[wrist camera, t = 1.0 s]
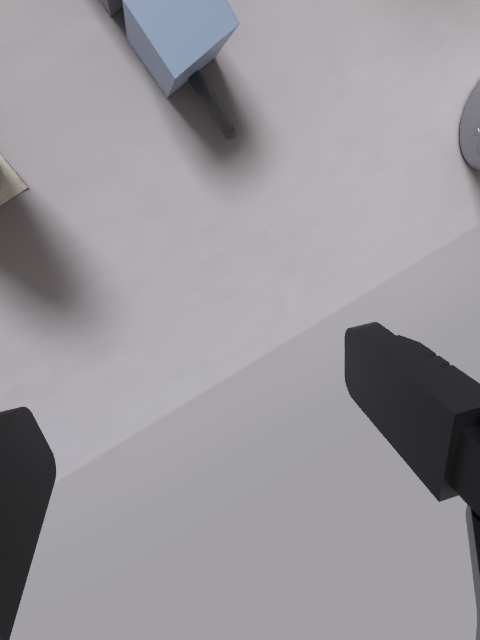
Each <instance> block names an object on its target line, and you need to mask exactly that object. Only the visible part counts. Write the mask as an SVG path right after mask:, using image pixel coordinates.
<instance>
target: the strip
mask: <svg viewBox="0 0 480 640" xmlns="http://www.w3.org/2000/svg"><path fill="white" fill-rule="evenodd" d="M99 1H100V2H101V3H102V5H103V6H104V8H105V9H106V11H107V12H108V14H109V15H110V16H111V17H112V16H113V15H114V14H115V13H116V12H117V11H118V10H119V9H121V8H122V7H123V2H122V0H99Z"/></svg>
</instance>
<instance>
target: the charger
mask: <svg viewBox="0 0 480 640" xmlns="http://www.w3.org/2000/svg"><path fill="white" fill-rule="evenodd" d="M122 2H123V10H124V18H125V26H126V34H127V40H128V42H129V43H130V45H131V46H132V48H133V49H134V51H135V52H136V54H137V55H138V56H139V58H140V59H141V61H142V62H143V64H144V65H145V67H146V68H147V69H148V71H149V72H150V74H151V75H152V77H153V78H154V80H155V81H156V83H157V84H158V85H159V87H160V88H161V90H162V91H163V93H164V94H165V96H166V97H167V98H168V97H169V96H170V95H171V94H172V93H174V92H175V91H176V90H177V89H178V88H179V87H181V86H182V85H183V84H184V83H185V82H186V81H188V80H189V81H190V83H191V84H192V86H193V88H194V89H195V91H196V92H197V94H198V95H199V97H200V98H201V100H202V102H203V103H204V105H205V106H206V108H207V109H208V111H209V112H210V114H211V116H212V117H213V119H214V120H215V122H216V123H217V125H218V126H219V128H220V130H221V131H222V133H223V134H224V136H225V137H226V138H227V139H229V140H232V139H233V138H234V137H235V136H236V130H235V128H234V127H233V125H232V124H231V122H230V120H229V119H228V117H227V116H226V114H225V112H224V111H223V109H222V108H221V106H220V104H219V103H218V101H217V100H216V98H215V96H214V95H213V93H212V92H211V90H210V88H209V87H208V85H207V83H206V82H205V80H204V79H203V77H202V75H201V74H200V72H199V70H200V69H202V68H203V67H204V66H205V65H206V64H207V63H209V62H210V61H211V60H212V59H213V58H214V57H216V55H217V54H218V53H219V51H220V50H221V48H222V47H223V46H224V44H225V43H226V41H227V40H228V39H229V37H230V36H231V35H232V33H233V32H234V30H235V29H236V28H237V26H238V25H239V22H238V20H237V18H236V16H235V14H234V13H233V11H232V9H231V7H230V5H229V3H228V1H227V0H122Z"/></svg>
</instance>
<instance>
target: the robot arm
mask: <svg viewBox="0 0 480 640" xmlns="http://www.w3.org/2000/svg"><path fill="white" fill-rule="evenodd" d="M460 145H461V150H462V153H463V155H464V158H465V160H466V161H467V162H468V164H469V165H470V166H471V167H472V168H474V169H475V170H477V171H480V81H479V82H478V84H477V85H476V87H475V88H474V90H473V91H472V93H471V95H470V97H469V99H468V101H467V103H466V105H465V109H464V112H463V115H462V119H461V125H460ZM345 382H346V386H347V388H348V391H349V394H350V395H351V397H352V399H353V400H354V401H355V402H356V403H357V405H358V406H359V407H360V408H361V409H362V411H363V412H364V413H365V414H366V415H367V417H368V418H369V419H370V420H371V421H372V423H373V424H374V425H375V426H376V427H377V428H378V430H379V431H380V432H381V433H382V434H383V436H384V437H385V438H386V439H387V440H388V441H389V443H390V444H391V445H392V446H393V448H394V449H395V450H396V451H397V452H398V454H400V456H401V457H402V458H403V459H404V461H405V462H406V463H407V464H408V465H409V466H410V468H411V469H412V470H413V471H414V473H415V474H416V475H417V476H418V477H419V479H420V480H421V481H422V482H423V483H424V484H425V486H426V487H427V488H428V489H429V490H430V492H431V493H432V494H433V495H434V496H435V498H436V499H437V500H438V501H439V502H440V501H443V500H446V499H449V498H452V497H455V496H458V495H460V497H461V498H462V499H463V500H464V501H465V502H466V503H467V508H466V522H467V531H468V539H469V547H470V556H471V563H472V573H473V581H474V590H475V598H476V607H477V631H476V640H480V384H479V383H478V382H477V381H475V380H474V379H472V378H471V377H469V376H468V375H466V374H465V373H463V372H462V371H460V370H459V369H458V368H456V367H455V366H453V365H451V366H450V364H449V362H447V361H446V360H445V359H443V358H442V357H440V356H436V354H435V353H434V352H433V351H431V350H430V349H429V348H427V347H426V346H424V345H423V344H421V343H419V342H417V341H414V340H411V339H408V338H406V337H403V336H400V335H398V336H396V335H394V334H393V333H392V332H390V331H389V330H388V329H386V328H385V327H383V326H382V325H381V324H379V323H377V322H372V323H369V324H364V325H361V326H356V327H352V328H348V329H347V330H346V333H345ZM55 478H56V464H55V459H54V455H53V453H52V451H51V449H50V447H49V445H48V443H47V441H46V439H45V437H44V435H43V434H42V432H41V430H40V428H39V426H38V424H37V422H36V420H35V418H34V416H33V414H32V413H31V411H30V410H29V409H28V408H26V407H19V408H15V409H11V410H7V411H3V412H0V640H9V639H10V635H11V632H12V628H13V625H14V621H15V618H16V614H17V610H18V607H19V604H20V600H21V596H22V593H23V590H24V587H25V583H26V580H27V576H28V572H29V569H30V565H31V562H32V559H33V555H34V552H35V548H36V545H37V541H38V538H39V534H40V531H41V527H42V524H43V521H44V517H45V514H46V510H47V507H48V503H49V500H50V496H51V493H52V489H53V486H54V482H55Z"/></svg>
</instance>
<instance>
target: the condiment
mask: <svg viewBox="0 0 480 640" xmlns="http://www.w3.org/2000/svg"><path fill="white" fill-rule="evenodd" d="M26 188H28V187H27V186H26V185H25V183H24V182H23V181H22V180H21V179H20V177H19V176H18V175H17V174H16V173H15V171H14V170H13V169H12V168H11V167H10V165H9V164H8V163H7V161H6V160H5V159H4V158H3V157H2V155H1V154H0V206H1V205H2V204H4V203H5V202H7V201H8V200H10V199H11V198H13V197H14V196H16V195H18V194H19V193H21V192H22V191H24V190H25V189H26Z"/></svg>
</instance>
